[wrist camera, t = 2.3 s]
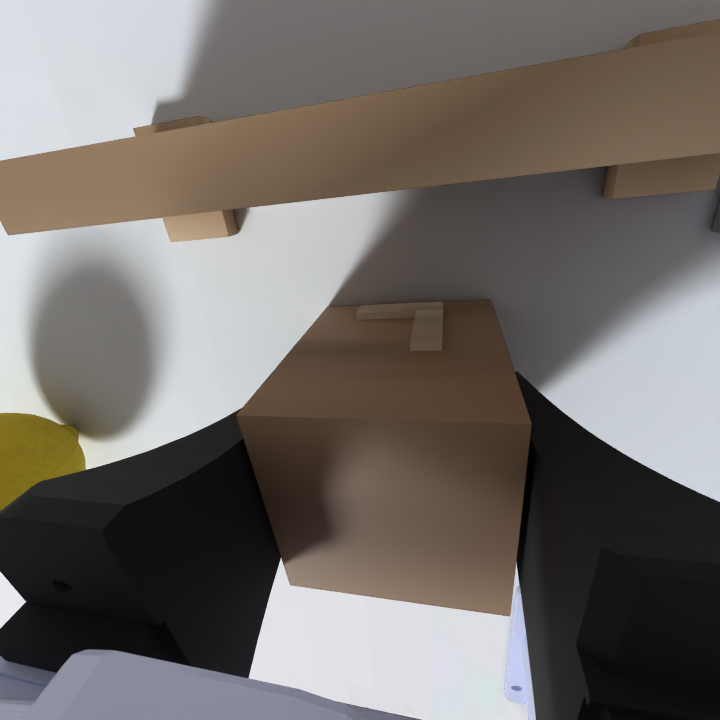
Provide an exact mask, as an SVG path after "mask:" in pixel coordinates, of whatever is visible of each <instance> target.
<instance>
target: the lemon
mask: <svg viewBox="0 0 720 720" xmlns="http://www.w3.org/2000/svg"><path fill="white" fill-rule="evenodd" d="M78 438H79V433H78V431H77V429H76V428H75V427H73V426H71V425H60V424H58V423H56V422H53V421H51V420H49V419H46V418H43V417H40V416H36V415H31V414H21V413H0V511H1V510H2V509H4V508H5V507H6V506H7V505H9V504H10V503H11V502H13V501H14V500H15V499H17V498H18V497H19V496H20V495H22V494H23V493H24V492H26V491H27V490H28V489H29V488H31V487H32V486H34V485H35V484H37V483H39V482H40V481H43V480H47V479H52V478H56V477H60V476H64V475H68V474H72V473H76V472H80V471H84V470H86V469H85V457H84V454H83V451H82V448H81V446H80V445H79V443H78Z"/></svg>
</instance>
